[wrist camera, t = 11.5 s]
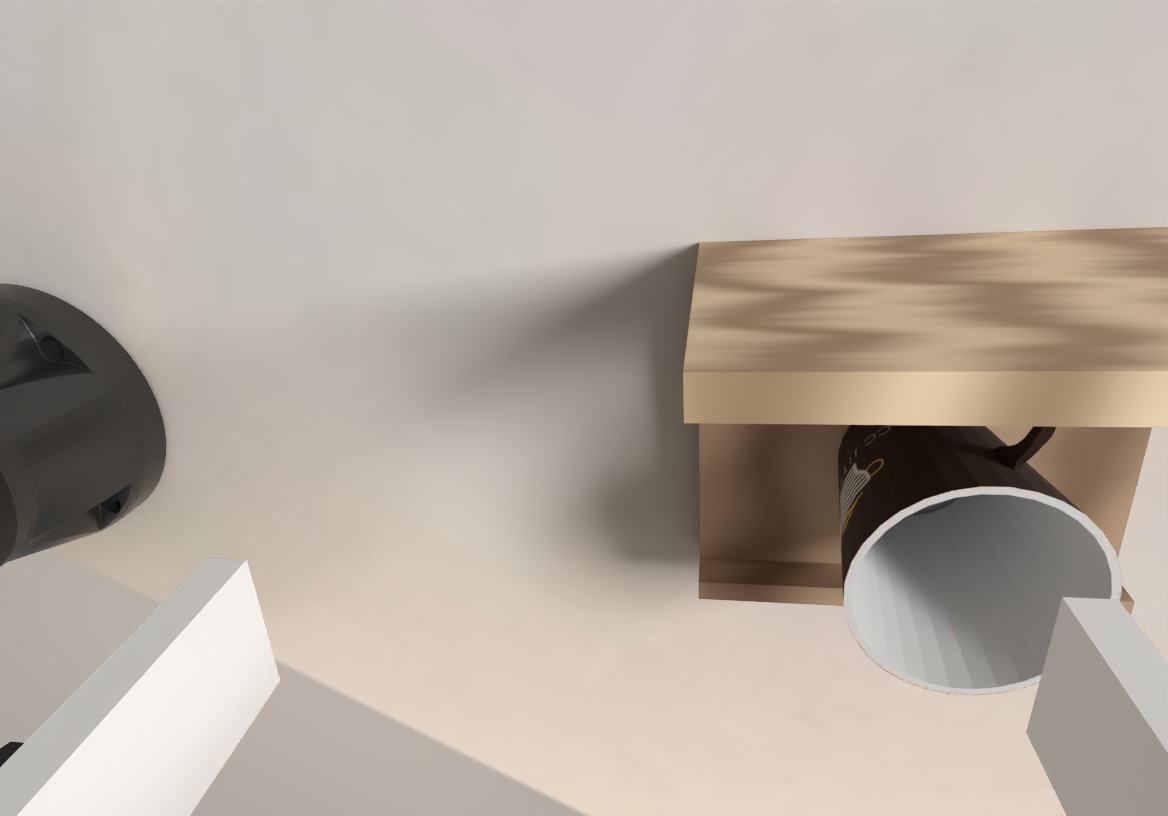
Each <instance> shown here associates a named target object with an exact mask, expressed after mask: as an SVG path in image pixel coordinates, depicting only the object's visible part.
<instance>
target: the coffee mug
mask: <svg viewBox="0 0 1168 816" xmlns="http://www.w3.org/2000/svg"><path fill="white" fill-rule="evenodd" d="M1056 428H1057V427H1046V426H1033V428H1032V429H1031V430H1030V431H1029V433H1028V434H1027V435H1026V437H1025V438H1024V439H1023V440H1021V441H1020V442H1019V443H1017V444H1015V445H1011V446H1007V445H1006V444H1005V443H1004V442H1003V441H1002V440H1001V439H1000V438H998V437H997V436H996V435H995V434H994V433H993V432H992V431H991V430H989V429H988V428H987V427H986V426H934V425H850V427H849V428H848V430H847V431H846V433H845V435H844V437H843V439H842V441H841V445H840V448H839V452H838V483H839V509H840V535H841V561H842V587H843V604H844V610H845V616H846V621H847V624H848V626H849V628H850V630H851V632H852V635H853V637H854V639H855V640H856V642H857V643H858V644H859V646H860V647H861V648H862V650H863V651H864V652H865V653H866V655H867V656H868V657H869V658H871V659H872V660H873V661H874V662H875V663H876V664H878V665H879V666H880V667H881V668H882V669H884V670H885V671H887V672H889V673H891V674H892V675H894V676H896V677H897V678H899V679H901V680H903V681H905V682H908V683H911V684H913V685H916V686H919V687H922V688H924V689H929V690H934V691H938V692H943V693H948V694H963V695H983V694H996V693H1003V692H1007V691H1012V690H1017V689H1021V688H1026V687H1028V686H1031V685H1034V684H1036V683H1039V682H1040V679H1041V675H1042V672H1043V668H1044V664H1045V660H1046V657H1047V653H1048V649H1049V645H1050V642H1051V638H1052V634H1053V630H1054V626H1055V623H1056V619H1057V615H1058V611H1059V608H1060V604H1061V600H1062V597H1073V598H1095V599H1117V600H1119V601H1120V597H1121V594H1122V575H1121V568H1120V565H1119V562H1118V558H1117V555H1116V551H1115V549H1114V548H1113V546H1112V545H1111V543H1110V541H1109V540H1108V538H1107V537H1106V535H1105V533H1104V532H1103V531H1102V530H1101V529H1100V528H1099V527H1098V526H1097V525H1096V524H1095V523H1094V522H1093V521H1092V520H1091V519H1090V518H1089V517H1088V516H1087V515H1086V514H1084V513H1083V512H1082V511H1081V510H1080V509H1079V508H1078V507H1077V506H1075V505H1074V504H1073V503H1072V502H1071V501H1070V500H1069V499H1067V498H1066V497H1065V496H1064V495H1063V494H1062V493H1061V492H1060V491H1058V490H1057V489H1056V488H1055V487H1054V486H1053V485H1052V484H1050V483H1049V482H1048V481H1047V480H1046V479H1045V478H1044V477H1043V476H1041V475H1040V474H1039V473H1038V472H1037V471H1036V470H1035V469H1034V468H1032V467H1031V466H1030V465H1029V464H1028V463H1027V461H1028V460H1029V459H1030V458H1031V457H1033V456H1034V455H1035V454H1036V453H1037V452H1038V451H1039V450H1040V449H1041V448H1042V447H1043V446H1044V444H1046V443H1047V442H1048V441H1049V439H1050V438H1051V437H1052V435H1053V433H1054V432H1055V430H1056Z"/></svg>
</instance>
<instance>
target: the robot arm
mask: <svg viewBox="0 0 1168 816" xmlns="http://www.w3.org/2000/svg"><path fill="white" fill-rule="evenodd" d="M165 456H166V438H165V430H164V425H163V420H162V416H161V413H160V410H159V407H158V404H157V401H156V399H155V397H154V394H153V392H152V390H151V388H150V386H149V384H148V382H147V381H146V379H145V377H144V375H143V374H142V372H141V371H140V369H139V368H138V366H137V365H136V363H135V362H134V361H133V359H132V358H131V357H130V355H129V354H128V353H127V352H126V351H125V349H124V348H123V347H122V346H121V345H120V344H119V343H118V342H117V341H116V339H115V338H113V337H112V336H111V335H110V334H109V333H108V332H107V331H106V330H105V329H104V328H103V327H102V326H100V325H99V324H98V323H97V322H95V321H94V320H93V319H92V318H90V317H89V316H87V315H86V314H85V313H83V312H82V311H80V310H79V309H77V308H75V307H74V306H72V305H70V304H68V303H67V302H65V301H63V300H61V299H59V298H57V297H54V296H52V295H50V294H47V293H45V292H42V291H39V290H36V289H32V288H28V287H24V286H19V285H11V284H0V566H2V565H3V564H5V563H6V562H8V561H12V560H14V559H17V558H21V557H24V556H27V555H30V554H33V553H36V552H39V551H42V550H45V549H48V548H51V547H54V546H57V545H60V544H64V543H67V542H70V541H73V540H76V539H79V538H82V537H85V536H88V535H91V534H94V533H97V532H99V531H101V530H104V529H106V528H108V527H109V526H111V525H113V524H115V523H116V522H118V521H119V520H120V519H122V518H123V517H124V516H126V515H127V514H128V513H129V512H131V511H132V510H133V509H135V508H136V507H137V506H139V505H140V504H141V503H143V502H144V501H145V500H146V499H147V498H148V497H149V496H150V494H151V493H152V492H153V490H154V489H155V487H156V486H157V484H158V482H159V480H160V477H161V475H162V471H163V468H164V463H165ZM279 682H280V677H279V674H278V670H277V667H276V663H275V659H274V656H273V652H272V649H271V645H270V641H269V638H268V634H267V631H266V627H265V623H264V620H263V616H262V613H261V609H260V605H259V602H258V598H257V595H256V591H255V588H254V584H253V580H252V577H251V573H250V570H249V566H248V562H247V560H244V559H222V558H205V560H204V561H203V562H202V563H201V564H200V565H199V566H198V567H197V568H196V569H195V570H194V571H193V572H192V573H191V574H190V575H189V576H188V577H187V578H186V579H185V580H184V581H183V582H182V583H181V584H180V585H179V586H178V587H177V588H176V589H175V590H174V591H173V592H172V593H171V594H170V595H169V596H168V597H167V598H166V599H165V600H164V601H163V602H162V603H161V604H160V605H159V606H158V607H157V608H156V609H155V611H154V612H153V613H151V615H150V616H149V617H148V618H147V619H146V620H145V621H144V622H143V623H142V624H141V625H140V626H139V627H138V628H137V629H136V630H135V631H134V632H133V633H132V634H131V635H130V636H129V637H128V638H127V639H126V640H125V641H124V642H123V643H122V644H121V645H120V646H119V647H118V648H117V649H116V650H115V651H114V652H113V653H112V654H111V655H110V656H109V657H108V658H107V659H106V660H105V661H104V662H103V663H102V664H101V665H100V667H98V669H97V670H96V671H95V672H94V673H93V674H92V675H91V676H90V677H89V678H88V679H87V680H86V681H85V682H84V683H83V684H82V685H81V686H80V687H79V688H78V689H77V690H76V691H75V692H74V693H73V694H72V695H71V696H70V697H69V698H68V699H67V700H66V701H65V702H64V703H63V704H62V705H61V706H60V707H59V708H58V709H57V710H56V711H55V712H54V713H53V714H52V715H51V716H50V717H49V718H48V719H47V721H45V723H44V724H42V725H41V726H40V728H39V729H38V730H37V731H36V732H35V733H34V734H33V735H32V736H31V737H30V738H29V739H28V740H27V741H26V742H25V743H19V742H9V743H8V744H7V745H5V746H4V747H2V748H1V749H0V816H190V814H191V813H192V812H193V810H194V808H195V807H196V806H197V804H198V802H199V801H200V800H201V798H202V797H203V795H204V794H205V792H206V791H207V789H208V788H209V786H210V784H211V783H212V782H213V780H214V779H215V777H216V776H217V774H218V773H219V771H220V770H221V768H222V767H223V765H224V764H225V762H226V761H227V759H228V758H229V756H230V755H231V753H232V752H233V750H234V749H235V747H236V746H237V744H238V743H239V741H240V740H241V738H242V737H243V735H244V734H245V732H246V731H247V729H248V728H249V726H250V725H251V723H252V722H253V721H254V719H255V718H256V716H257V714H258V713H259V712H260V710H261V709H262V707H263V706H264V704H265V703H266V701H267V700H268V698H269V697H270V695H271V694H272V692H273V691H274V689H275V688H276V686H277V685H278V683H279ZM1026 733H1027V735H1028V737H1029V739H1030V741H1031V743H1032V745H1033V747H1034V749H1035V751H1036V753H1037V755H1038V757H1039V759H1040V762H1041V764H1042V766H1043V768H1044V770H1045V772H1046V774H1047V776H1048V778H1049V780H1050V782H1051V784H1052V786H1053V788H1054V790H1055V792H1056V794H1057V796H1058V798H1059V801H1060V803H1061V805H1062V807H1063V809H1064V811H1065V813H1066V815H1067V816H1168V663H1167V662H1166V660H1165V659H1164V658H1163V656H1162V655H1161V654H1160V653H1159V651H1158V650H1157V649H1156V647H1155V646H1154V645H1153V644H1152V642H1151V641H1150V640H1149V638H1148V637H1147V636H1146V635H1145V633H1144V632H1143V631H1142V629H1141V628H1140V627H1139V626H1138V624H1137V623H1136V622H1135V620H1134V619H1133V618H1132V617H1131V615H1130V614H1129V613H1128V611H1127V610H1126V609H1125V608H1124V606H1123V605H1122V604H1121V602H1120V601H1119V600H1117V599H1095V598H1073V597H1062V600H1061V604H1060V608H1059V611H1058V615H1057V619H1056V623H1055V626H1054V630H1053V634H1052V638H1051V642H1050V645H1049V649H1048V653H1047V657H1046V660H1045V664H1044V668H1043V672H1042V675H1041V679H1040V683H1039V687H1038V690H1037V694H1036V698H1035V702H1034V705H1033V709H1032V713H1031V717H1030V720H1029V724H1028V728H1027V732H1026Z"/></svg>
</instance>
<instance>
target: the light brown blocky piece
mask: <svg viewBox="0 0 1168 816" xmlns="http://www.w3.org/2000/svg"><path fill="white" fill-rule="evenodd" d="M683 405H684V423H699V512H700V565H699V599H715V600H736V601H756V602H776V603H796V604H817V605H837V606H844V604H843V587H842V561H841V535H840V509H839V483H838V452H839V448H840V445H841V441H842V439H843V437H844V435H845V433H846V431H847V430H848V428H849V427H850V425H934V426H986V427H987V428H988V429H989V430H991V431H992V432H993V433H994V434H995V435H996V436H997V437H998V438H1000V439H1001V440H1002V441H1003V442H1004V443H1005V444H1006V445H1007V446H1011V445H1015V444H1017V443H1019V442H1020V441H1021V440H1023V439H1024V438H1025V437H1026V435H1027V434H1028V433H1029V431H1030V430H1031V429H1032V428H1033V426H1046V427H1057V428H1056V430H1055V432H1054V433H1053V435H1052V437H1051V438H1050V439H1049V441H1048V442H1047V443H1046V444H1044V446H1043V447H1042V448H1041V449H1040V450H1039V451H1038V452H1037V453H1036V454H1035V455H1034V456H1033V457H1031V458H1030V459H1029V460H1028V461H1027V463H1028V464H1029V465H1030V466H1031V467H1032V468H1034V469H1035V470H1036V471H1037V472H1038V473H1039V474H1040V475H1041V476H1043V477H1044V478H1045V479H1046V480H1047V481H1048V482H1049V483H1050V484H1052V485H1053V486H1054V487H1055V488H1056V489H1057V490H1058V491H1060V492H1061V493H1062V494H1063V495H1064V496H1065V497H1066V498H1067V499H1069V500H1070V501H1071V502H1072V503H1073V504H1074V505H1075V506H1077V507H1078V508H1079V509H1080V510H1081V511H1082V512H1083V513H1084V514H1086V515H1087V516H1088V517H1089V518H1090V519H1091V520H1092V521H1093V522H1094V523H1095V524H1096V525H1097V526H1098V527H1099V528H1100V529H1101V530H1102V531H1103V532H1104V533H1105V535H1106V537H1107V538H1108V540H1109V541H1110V543H1111V545H1112V546H1113V548H1114V549H1115V551H1116V555H1117V558H1118V555H1119V551H1120V547H1121V543H1122V539H1123V536H1124V532H1125V528H1126V524H1127V520H1128V517H1129V513H1130V509H1131V505H1132V501H1133V498H1134V494H1135V490H1136V486H1137V482H1138V478H1139V475H1140V471H1141V467H1142V463H1143V459H1144V456H1145V452H1146V448H1147V444H1148V440H1149V436H1150V433H1151V429H1152V427H1158V428H1168V228H1167V227H1160V228H1129V229H1099V230H1069V231H1038V232H1008V233H977V234H947V235H916V236H886V237H855V238H825V239H794V240H764V241H733V242H703V243H699V249H698V257H697V265H696V273H695V281H694V289H693V296H692V304H691V312H690V320H689V328H688V336H687V344H686V352H685V360H684V368H683ZM1120 602H1121V604H1122V605H1123V606H1124V608H1125V609H1126V610H1127V611H1128V613H1129V614H1130V615H1131V612H1132V609H1133V605H1134V601H1133V599H1132V598H1131V597H1130V595H1129V594H1128V593H1127V592H1126V590H1125V589H1124V588H1123V586H1122V594H1121V597H1120Z"/></svg>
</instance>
